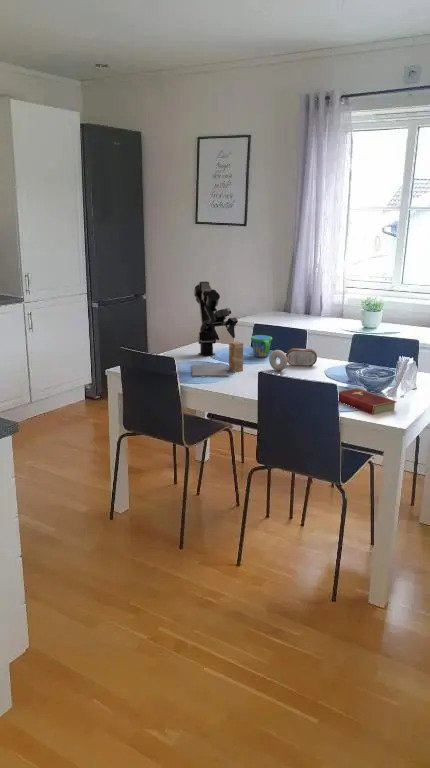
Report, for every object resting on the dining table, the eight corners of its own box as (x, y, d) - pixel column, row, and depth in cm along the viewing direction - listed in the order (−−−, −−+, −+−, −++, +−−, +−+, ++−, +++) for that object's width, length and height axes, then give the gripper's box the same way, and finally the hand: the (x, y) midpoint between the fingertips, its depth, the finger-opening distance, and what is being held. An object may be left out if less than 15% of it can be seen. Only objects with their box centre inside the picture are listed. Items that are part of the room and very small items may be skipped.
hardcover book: (372, 416, 228) (373, 405, 226) (334, 401, 245) (334, 391, 244) (395, 411, 234) (396, 400, 233) (356, 397, 251) (357, 387, 250)
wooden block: (228, 369, 290) (229, 342, 286) (236, 368, 292) (236, 341, 289) (235, 371, 286) (235, 344, 282) (242, 370, 288) (243, 343, 285)
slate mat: (192, 365, 296) (192, 364, 296) (225, 365, 296) (225, 364, 296) (192, 376, 277) (192, 375, 276) (227, 376, 277) (227, 375, 277)
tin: (316, 365, 299) (317, 348, 297) (316, 367, 296) (317, 350, 294) (285, 364, 301) (286, 347, 298) (285, 366, 298) (286, 349, 295)
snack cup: (275, 359, 310) (276, 339, 307) (255, 360, 308) (256, 340, 305) (266, 352, 325) (266, 333, 322) (247, 353, 323) (247, 334, 320)
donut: (267, 369, 291) (267, 348, 288) (271, 368, 293) (272, 347, 290) (284, 373, 284) (284, 352, 281) (288, 372, 286) (289, 351, 284)
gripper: (204, 303, 286) (217, 330, 281) (236, 300, 297) (249, 326, 291) (194, 318, 295) (207, 344, 289) (226, 314, 305) (239, 340, 299)
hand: (226, 338), depth 292 cm, fingers open, 9 cm apart
